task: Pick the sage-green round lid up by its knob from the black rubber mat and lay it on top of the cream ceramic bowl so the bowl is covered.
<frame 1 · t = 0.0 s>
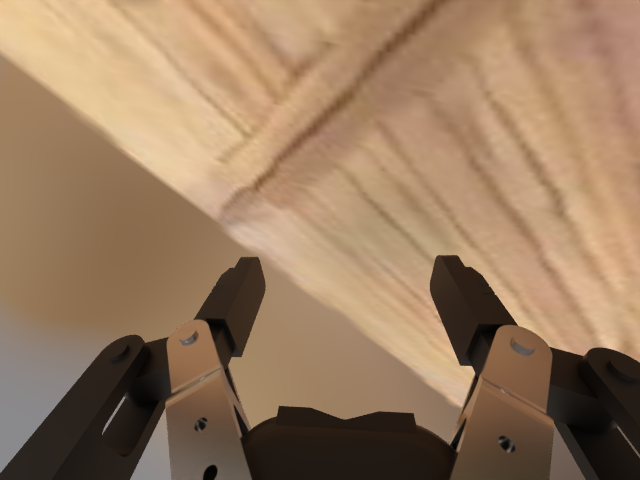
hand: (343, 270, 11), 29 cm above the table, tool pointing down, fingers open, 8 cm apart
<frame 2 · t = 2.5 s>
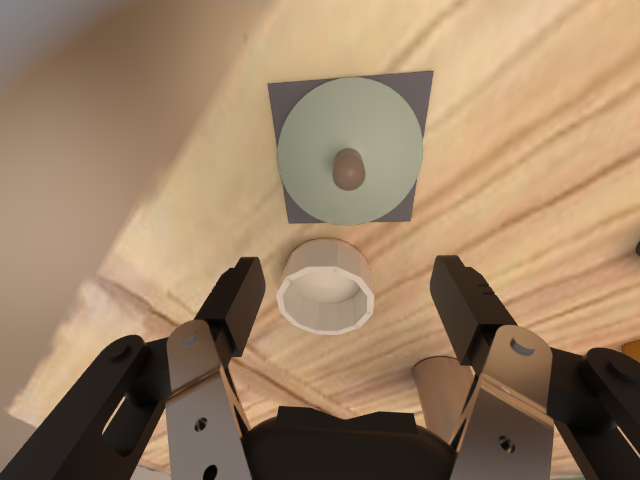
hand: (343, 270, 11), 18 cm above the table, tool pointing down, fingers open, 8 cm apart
mat: (347, 160, 27), on the table
bowl: (327, 272, 35), on the table
lid: (347, 161, 26), resting on mat
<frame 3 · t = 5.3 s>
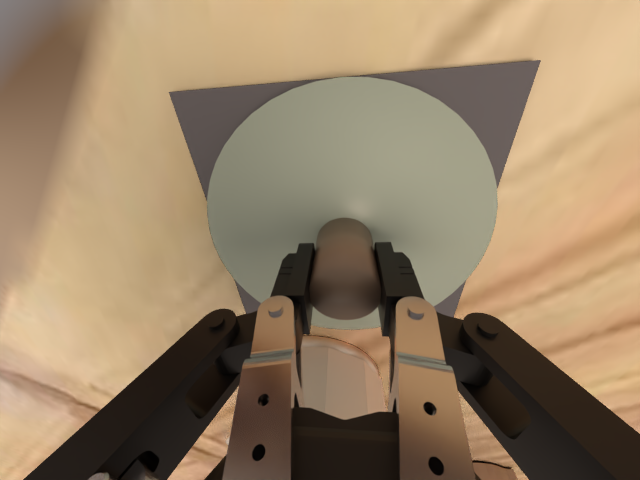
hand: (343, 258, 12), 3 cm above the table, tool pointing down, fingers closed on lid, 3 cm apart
mat: (343, 230, 14), on the table
bowl: (315, 374, 23), on the table
lid: (344, 234, 14), resting on mat, touching gripper
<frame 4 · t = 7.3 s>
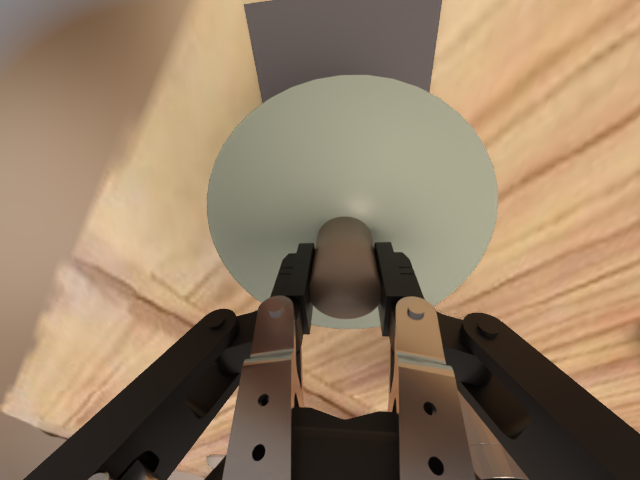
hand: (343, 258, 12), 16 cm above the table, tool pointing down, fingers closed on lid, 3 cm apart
candlestick: (224, 459, 89), on the table
mat: (343, 104, 23), on the table
lid: (344, 233, 14), point 14 cm above the table, touching gripper
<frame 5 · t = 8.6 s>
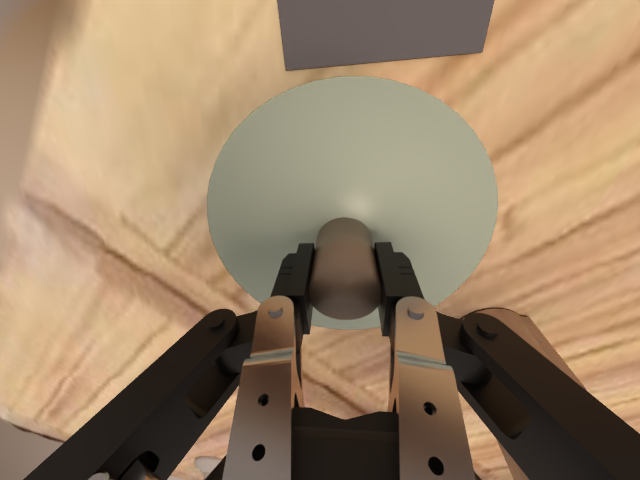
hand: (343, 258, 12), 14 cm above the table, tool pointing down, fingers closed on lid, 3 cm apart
candlestick: (215, 462, 80), on the table
lid: (344, 234, 14), point 12 cm above the table, touching gripper
when the fingers open (10 cm above the table, at t = 9.7 s): lid drops 1 cm, resting on bowl.
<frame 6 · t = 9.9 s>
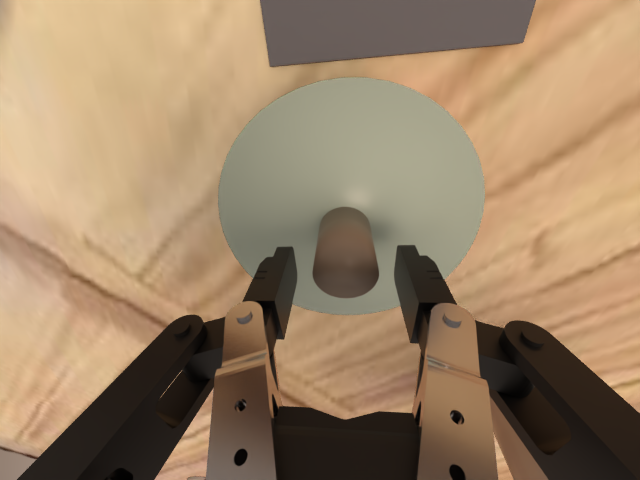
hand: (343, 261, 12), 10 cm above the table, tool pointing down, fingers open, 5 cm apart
lid: (344, 223, 15), point 6 cm above the table, touching bowl
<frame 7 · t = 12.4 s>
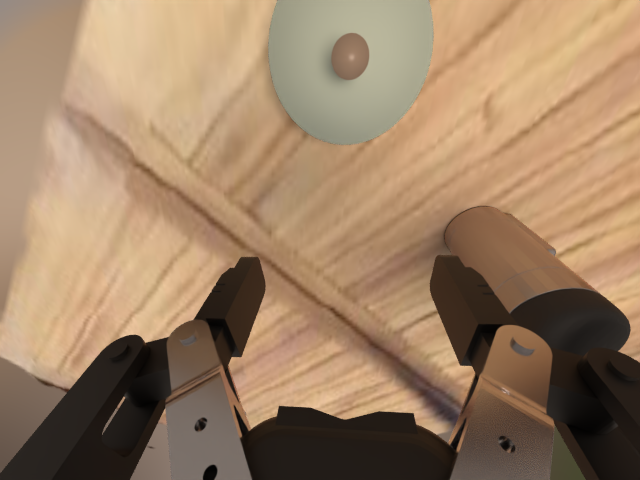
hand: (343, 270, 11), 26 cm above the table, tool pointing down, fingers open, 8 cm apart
lid: (348, 60, 23), point 6 cm above the table, touching bowl
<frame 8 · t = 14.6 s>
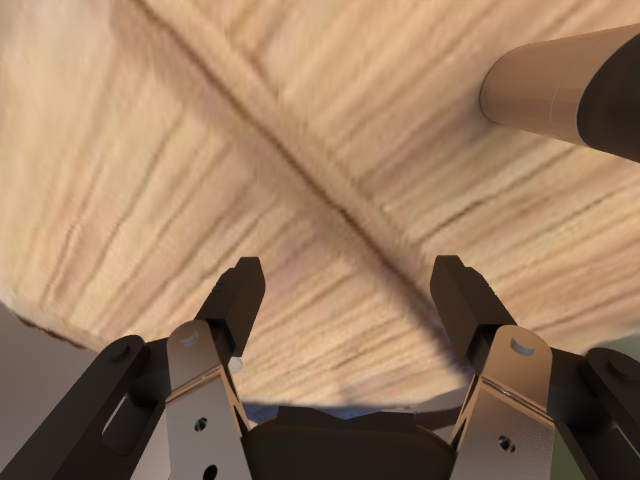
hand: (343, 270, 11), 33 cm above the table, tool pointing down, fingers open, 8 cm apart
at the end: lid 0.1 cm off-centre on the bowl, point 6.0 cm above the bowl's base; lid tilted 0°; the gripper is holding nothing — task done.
